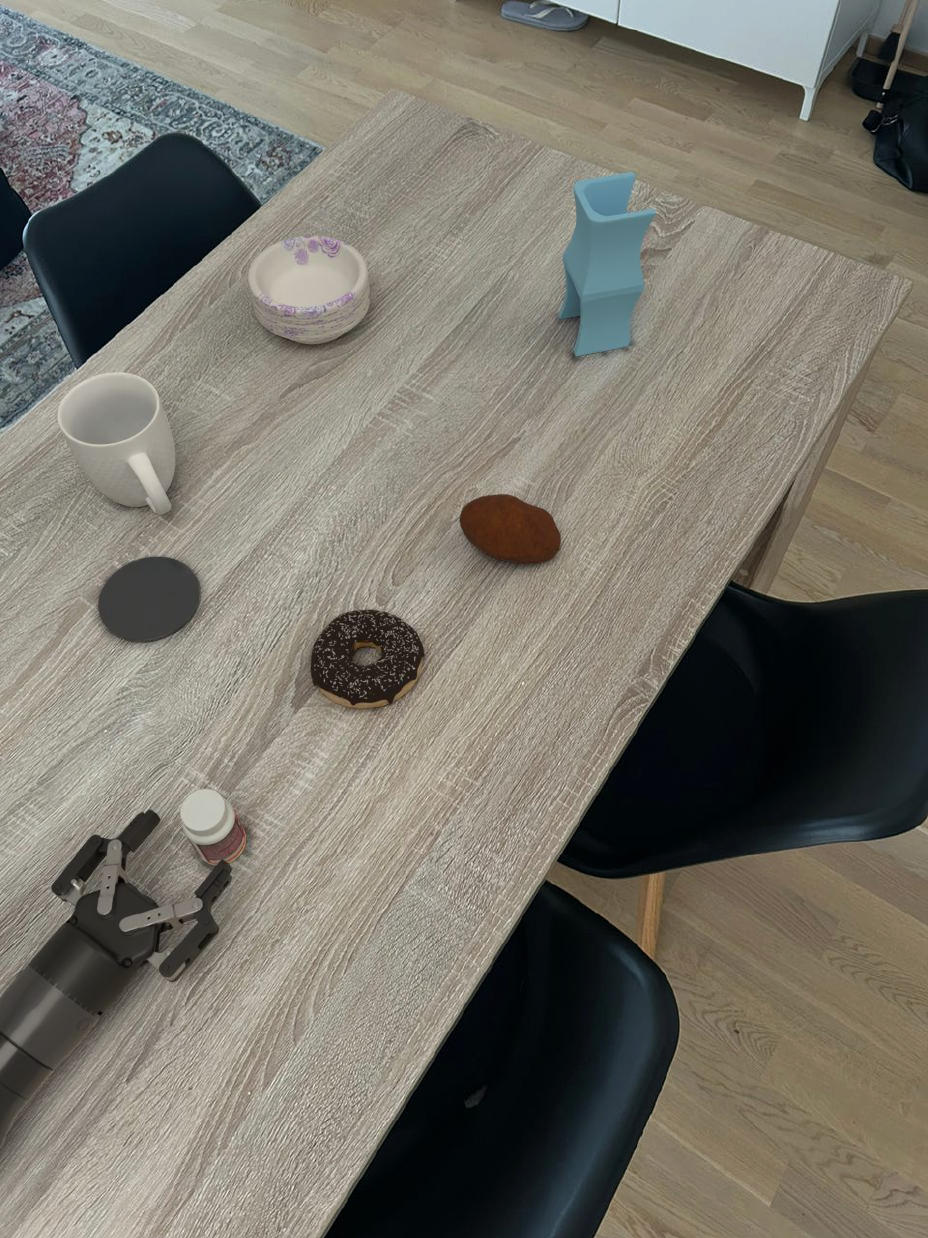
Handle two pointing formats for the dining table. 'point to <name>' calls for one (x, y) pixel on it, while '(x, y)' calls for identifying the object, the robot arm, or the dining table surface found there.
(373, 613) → the donut
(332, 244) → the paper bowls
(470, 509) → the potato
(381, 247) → the dining table surface
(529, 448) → the dining table surface
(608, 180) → the vase
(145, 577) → the coaster
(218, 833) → the pill bottle
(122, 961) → the robot arm
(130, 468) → the mug
